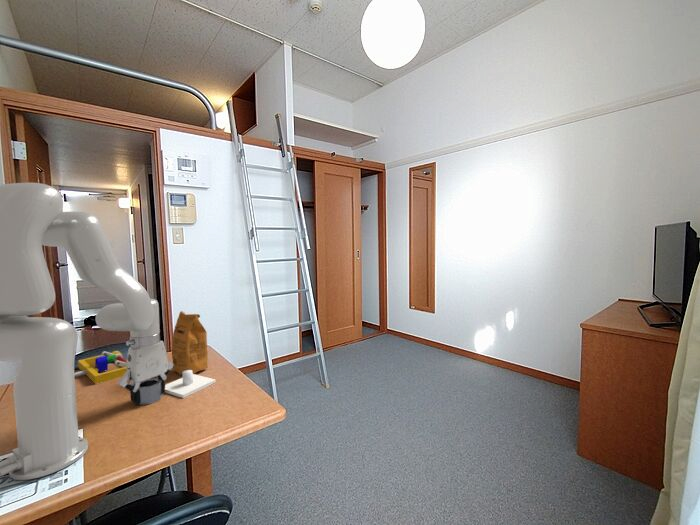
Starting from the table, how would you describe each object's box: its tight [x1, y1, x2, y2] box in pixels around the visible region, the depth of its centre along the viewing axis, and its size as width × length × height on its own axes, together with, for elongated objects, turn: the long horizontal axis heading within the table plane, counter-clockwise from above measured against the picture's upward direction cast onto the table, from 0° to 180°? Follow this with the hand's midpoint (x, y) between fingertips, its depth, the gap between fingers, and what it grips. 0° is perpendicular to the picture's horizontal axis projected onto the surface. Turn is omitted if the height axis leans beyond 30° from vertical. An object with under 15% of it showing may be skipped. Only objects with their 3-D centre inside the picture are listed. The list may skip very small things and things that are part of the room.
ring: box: [138, 378, 163, 406], centre depth 96 cm, size 7×7×5 cm
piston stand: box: [164, 370, 216, 399], centre depth 104 cm, size 12×12×5 cm
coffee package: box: [171, 311, 209, 376], centre depth 117 cm, size 10×12×22 cm
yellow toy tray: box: [74, 350, 127, 385], centre depth 119 cm, size 18×6×30 cm
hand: (148, 397), depth 96 cm, fingers closed on ring, 6 cm apart
